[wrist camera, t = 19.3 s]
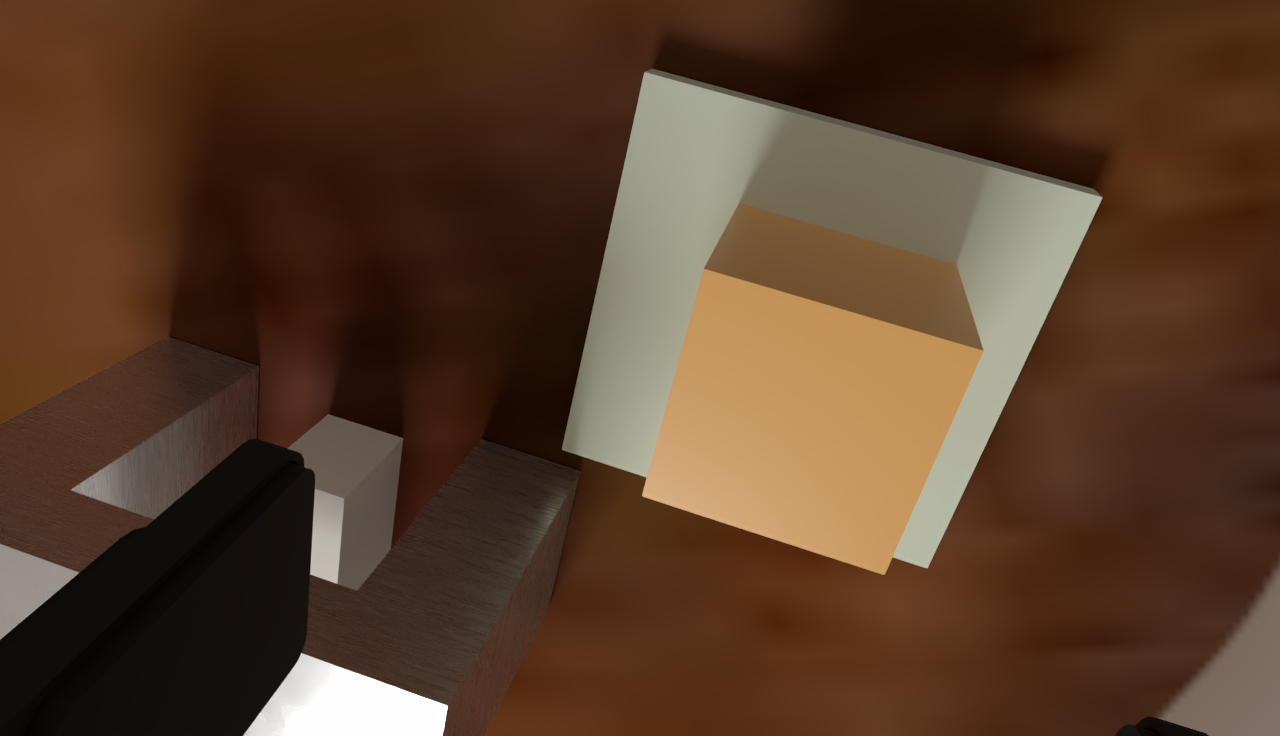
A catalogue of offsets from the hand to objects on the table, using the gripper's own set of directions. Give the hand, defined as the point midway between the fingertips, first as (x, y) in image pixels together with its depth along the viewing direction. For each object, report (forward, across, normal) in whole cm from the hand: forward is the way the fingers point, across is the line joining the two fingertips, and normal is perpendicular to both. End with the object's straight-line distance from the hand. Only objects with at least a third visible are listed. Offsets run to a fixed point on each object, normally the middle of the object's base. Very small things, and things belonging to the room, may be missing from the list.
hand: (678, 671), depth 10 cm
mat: (+13, -1, +1) cm, 13 cm away
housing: (+13, +10, +10) cm, 19 cm away
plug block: (+12, -2, +1) cm, 12 cm away
